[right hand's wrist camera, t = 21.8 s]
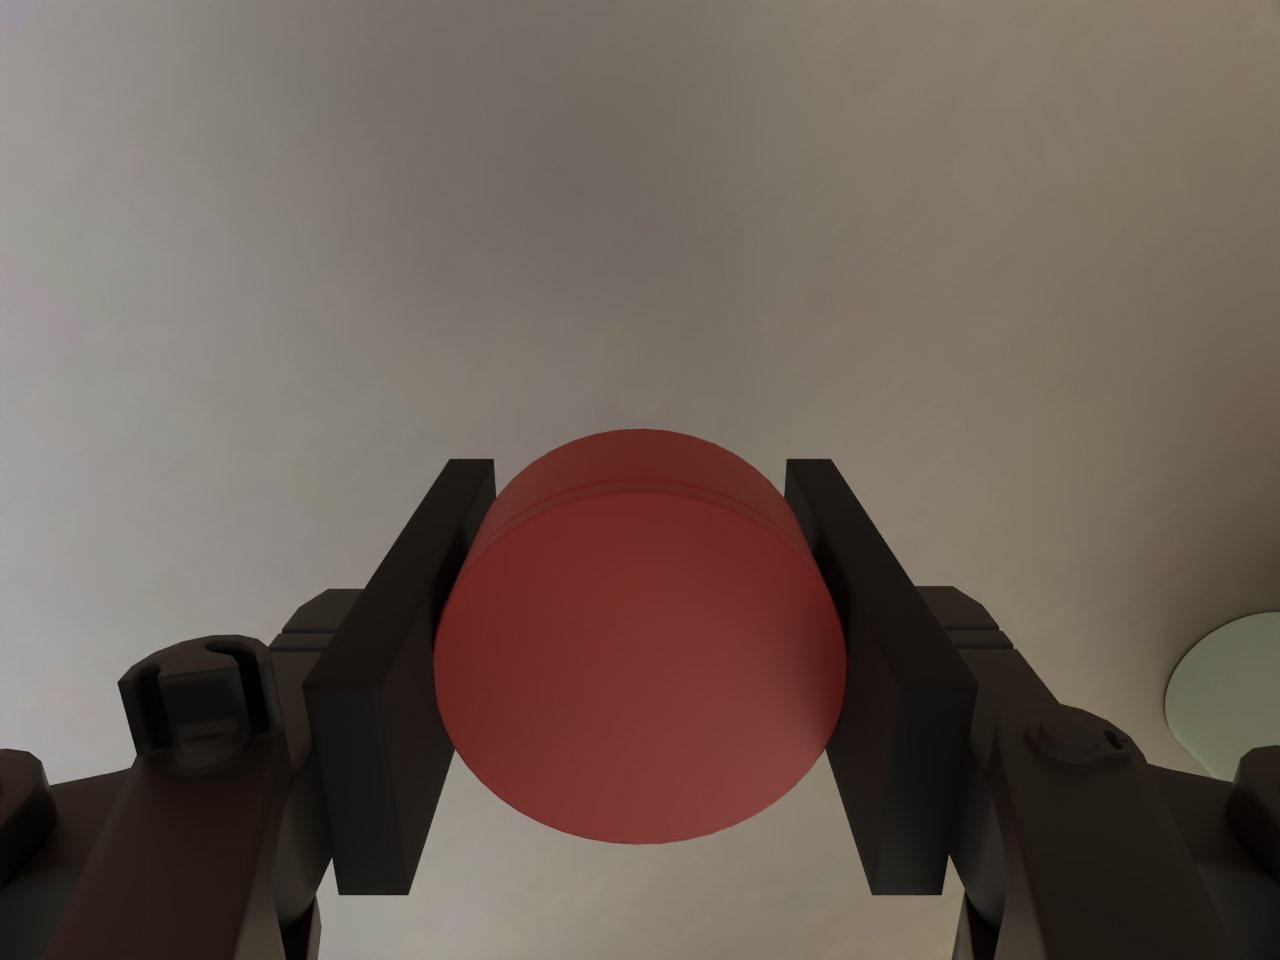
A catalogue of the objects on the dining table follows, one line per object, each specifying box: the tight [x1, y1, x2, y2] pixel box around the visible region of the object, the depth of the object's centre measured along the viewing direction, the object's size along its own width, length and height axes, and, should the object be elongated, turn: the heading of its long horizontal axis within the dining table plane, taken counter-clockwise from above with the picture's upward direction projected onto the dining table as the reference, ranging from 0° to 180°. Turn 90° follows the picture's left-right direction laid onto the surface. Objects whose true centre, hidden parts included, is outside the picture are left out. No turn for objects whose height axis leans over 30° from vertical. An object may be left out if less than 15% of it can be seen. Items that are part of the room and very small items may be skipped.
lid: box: [433, 429, 848, 844], centre depth 11 cm, size 5×5×2 cm
